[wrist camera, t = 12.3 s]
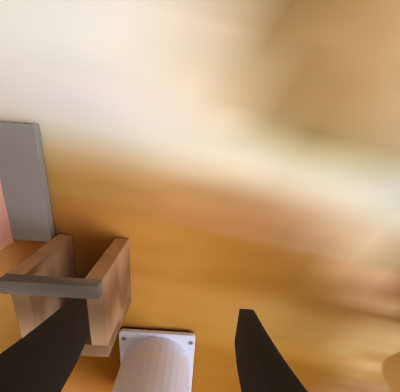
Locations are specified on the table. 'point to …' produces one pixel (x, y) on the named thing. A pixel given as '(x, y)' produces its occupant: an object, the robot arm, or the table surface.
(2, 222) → the pink eraser brick
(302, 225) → the table surface
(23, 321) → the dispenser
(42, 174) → the pad
